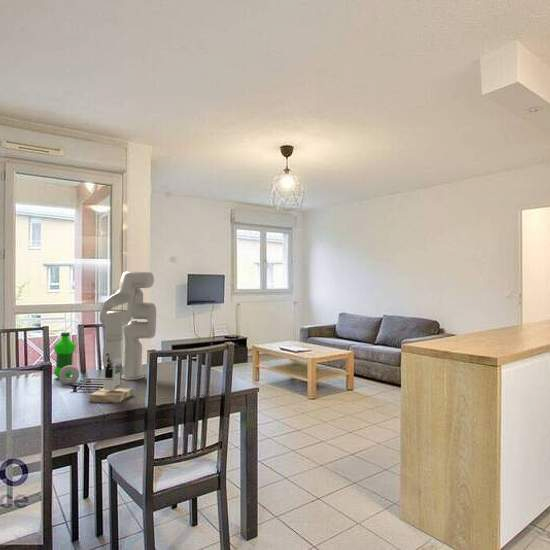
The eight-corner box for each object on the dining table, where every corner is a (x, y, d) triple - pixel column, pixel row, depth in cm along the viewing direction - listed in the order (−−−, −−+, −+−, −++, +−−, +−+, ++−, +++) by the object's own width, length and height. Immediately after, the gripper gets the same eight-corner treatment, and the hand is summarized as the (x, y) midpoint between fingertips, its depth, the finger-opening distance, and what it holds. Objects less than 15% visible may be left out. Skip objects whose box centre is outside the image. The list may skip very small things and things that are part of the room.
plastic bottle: (68, 374, 239) (69, 331, 240) (77, 377, 233) (78, 332, 233) (50, 377, 232) (51, 332, 232) (59, 380, 225) (60, 334, 225)
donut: (80, 383, 220) (80, 364, 221) (77, 385, 217) (78, 365, 217) (59, 383, 219) (60, 364, 219) (57, 385, 216) (58, 366, 216)
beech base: (104, 393, 204) (105, 387, 204) (132, 394, 202) (132, 388, 202) (89, 401, 190) (89, 394, 190) (118, 403, 188) (119, 396, 188)
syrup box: (114, 390, 193) (115, 359, 193) (102, 389, 194) (103, 358, 194) (121, 387, 198) (121, 357, 198) (109, 386, 200) (110, 356, 200)
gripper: (114, 334, 205) (113, 371, 205) (96, 340, 188) (95, 380, 188) (129, 335, 205) (128, 372, 204) (112, 340, 187) (110, 381, 187)
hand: (112, 375), depth 196 cm, fingers closed on syrup box, 6 cm apart
